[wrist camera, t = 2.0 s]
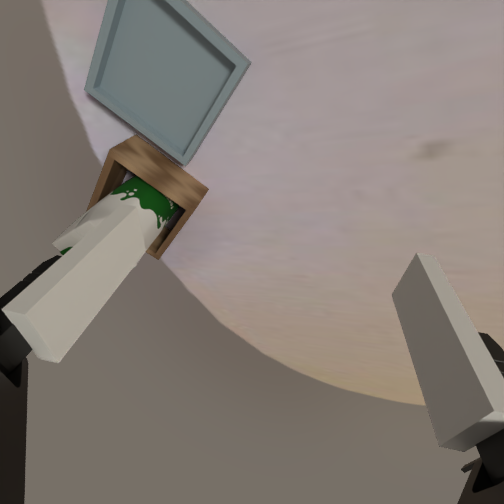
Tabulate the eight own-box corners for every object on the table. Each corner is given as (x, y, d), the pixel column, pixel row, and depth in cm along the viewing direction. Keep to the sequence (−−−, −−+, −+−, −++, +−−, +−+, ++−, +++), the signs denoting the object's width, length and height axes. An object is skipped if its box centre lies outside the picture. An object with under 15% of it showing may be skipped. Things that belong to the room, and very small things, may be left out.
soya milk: (122, 181, 47) (31, 252, 32) (158, 157, 44) (73, 224, 28) (156, 221, 52) (89, 300, 36) (192, 201, 48) (134, 281, 32)
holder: (109, 194, 50) (85, 214, 44) (136, 134, 42) (109, 149, 36) (174, 237, 53) (158, 259, 48) (208, 189, 45) (195, 209, 40)
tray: (95, 87, 39) (84, 89, 37) (134, -48, 29) (122, -54, 27) (191, 160, 43) (185, 166, 41) (251, 62, 34) (248, 64, 32)
